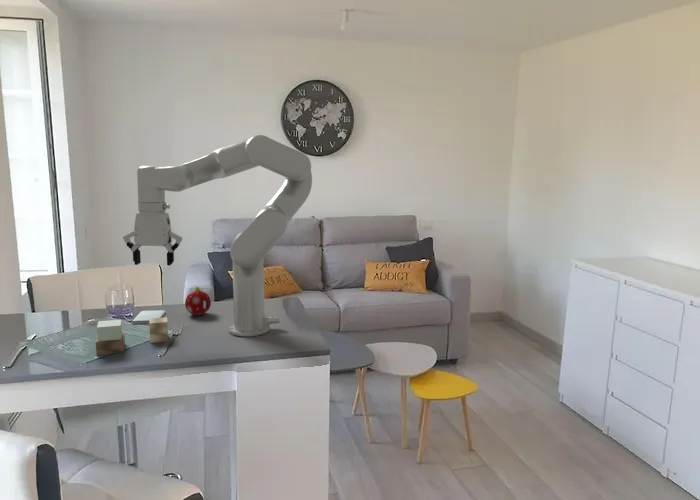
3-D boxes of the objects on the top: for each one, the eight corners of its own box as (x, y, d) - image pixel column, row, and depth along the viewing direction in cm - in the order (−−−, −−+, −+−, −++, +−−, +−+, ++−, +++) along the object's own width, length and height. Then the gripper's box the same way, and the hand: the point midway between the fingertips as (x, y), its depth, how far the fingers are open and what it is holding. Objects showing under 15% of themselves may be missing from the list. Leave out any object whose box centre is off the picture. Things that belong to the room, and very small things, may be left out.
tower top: (122, 332, 158) (121, 319, 157) (121, 339, 152) (120, 325, 152) (99, 334, 156) (98, 321, 155) (97, 341, 150) (96, 327, 149)
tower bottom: (125, 345, 159) (124, 332, 158) (123, 353, 153) (123, 339, 152) (98, 347, 157) (97, 334, 156) (96, 355, 150) (95, 341, 150)
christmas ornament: (202, 310, 195) (201, 282, 194) (215, 314, 189) (215, 286, 188) (180, 314, 189) (179, 286, 187) (193, 320, 183) (192, 291, 182)
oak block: (167, 336, 167) (167, 317, 166) (168, 341, 162) (167, 321, 161) (150, 337, 165) (149, 318, 164) (150, 343, 160) (149, 323, 159)
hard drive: (157, 320, 179) (165, 309, 191) (131, 320, 178) (141, 310, 190) (157, 325, 179) (165, 314, 192) (131, 325, 178) (141, 314, 190)
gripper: (184, 207, 166) (185, 262, 169) (127, 206, 165) (129, 261, 168) (177, 209, 158) (179, 267, 161) (117, 208, 158) (119, 266, 161)
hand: (153, 264), depth 165 cm, fingers open, 9 cm apart
